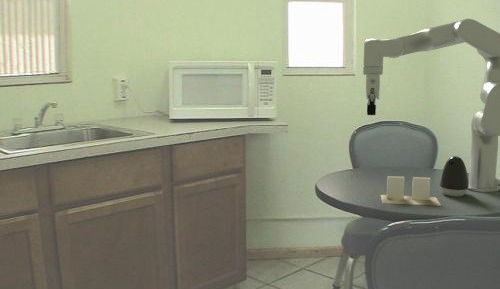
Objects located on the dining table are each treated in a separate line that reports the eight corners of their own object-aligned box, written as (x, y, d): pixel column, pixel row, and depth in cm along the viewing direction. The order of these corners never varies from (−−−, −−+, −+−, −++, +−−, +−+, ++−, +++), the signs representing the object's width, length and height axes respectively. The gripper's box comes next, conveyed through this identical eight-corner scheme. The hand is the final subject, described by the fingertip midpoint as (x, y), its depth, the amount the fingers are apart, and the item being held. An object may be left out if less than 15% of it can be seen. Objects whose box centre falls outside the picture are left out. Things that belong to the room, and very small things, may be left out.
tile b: (403, 197, 186) (404, 176, 185) (403, 198, 185) (404, 177, 183) (386, 196, 188) (387, 176, 186) (386, 198, 186) (387, 176, 185)
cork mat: (436, 198, 187) (436, 197, 187) (441, 207, 176) (441, 205, 176) (380, 196, 191) (380, 194, 190) (382, 204, 180) (382, 202, 180)
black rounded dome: (433, 195, 191) (436, 156, 189) (446, 190, 198) (448, 152, 196) (460, 201, 184) (463, 160, 181) (472, 195, 191) (475, 156, 188)
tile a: (428, 198, 185) (429, 177, 183) (429, 200, 183) (430, 178, 182) (411, 198, 186) (412, 177, 184) (412, 199, 184) (413, 177, 183)
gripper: (383, 71, 191) (381, 116, 194) (381, 70, 208) (380, 111, 211) (363, 71, 193) (361, 115, 196) (363, 70, 209) (361, 111, 212)
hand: (371, 113), depth 203 cm, fingers open, 9 cm apart
